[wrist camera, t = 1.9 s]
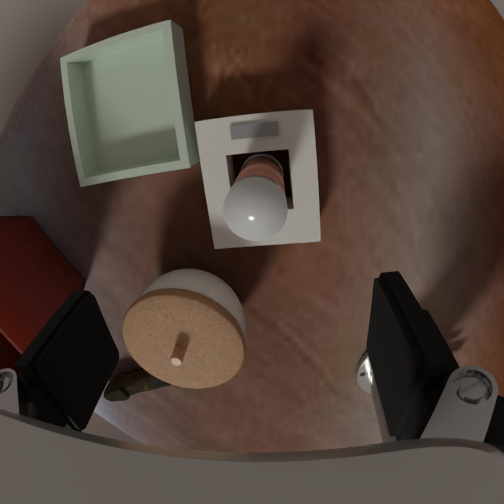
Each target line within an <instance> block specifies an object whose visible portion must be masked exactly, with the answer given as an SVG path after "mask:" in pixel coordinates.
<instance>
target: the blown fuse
mask: <svg viewBox="0 0 504 504" xmlns="http://www.w3.org/2000/svg"><path fill="white" fill-rule="evenodd" d="M287 213H288V208H287V200H286V196H285V189H284V180H283V168H282V165H281V163H280V162H279V160H278V159H277V158H276V157H274V156H273V155H271V154H268V153H256V154H254V155H252V156H250V157H249V158H248V159H247V160H246V161H245V162H244V164H243V166H242V168H241V171H240V173H239V175H238V177H237V178H236V180H235V182H234V184H233V186H232V187H231V189H230V190H229V192H228V194H227V196H226V198H225V201H224V205H223V215H224V219H225V221H226V223H227V225H228V227H229V228H230V229H231V230H232V231H233V232H234V233H235V234H236V235H238V236H239V237H241V238H244V239H246V240H251V241H260V240H265V239H268V238H271V237H272V236H274V235H275V234H277V233H278V232H279V231H280V230H281V229H282V227H283V226H284V224H285V222H286V219H287Z"/></svg>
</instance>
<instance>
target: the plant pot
mask: <svg viewBox="0 0 504 504" xmlns="http://www.w3.org/2000/svg"><path fill="white" fill-rule="evenodd" d="M84 288H85V282H84V280H83V279H82V278H81V276H80V275H79V274H78V273H77V272H76V271H75V270H74V268H73V267H72V266H71V265H70V264H69V263H68V261H67V260H66V259H65V258H64V257H63V255H62V254H61V253H60V252H59V251H58V249H57V248H56V247H55V246H54V245H53V243H52V242H51V241H50V240H49V238H48V237H47V236H46V235H45V233H44V232H43V231H42V229H41V228H40V227H39V226H38V224H37V223H36V222H35V220H34V219H33V218H32V217H30V216H1V217H0V370H2V369H5V368H10V369H13V370H14V371H15V372H16V373H17V375H19V373H20V371H19V370H18V368H17V367H16V365H15V363H16V361H17V360H18V359H19V357H20V356H21V355H22V353H23V352H24V351H25V349H26V348H27V347H28V346H29V344H30V343H31V342H32V340H33V339H34V338H35V337H36V335H37V334H38V333H39V332H40V330H41V329H42V328H43V327H44V325H45V324H46V323H47V322H48V321H49V319H50V318H51V317H52V316H53V315H54V313H55V312H56V311H57V310H58V309H59V307H60V306H61V305H62V304H63V303H64V302H65V300H66V299H67V298H68V297H69V296H70V295H71V293H72V292H74V291H84Z"/></svg>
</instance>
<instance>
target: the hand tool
mask: <svg viewBox="0 0 504 504" xmlns="http://www.w3.org/2000/svg"><path fill="white" fill-rule="evenodd" d="M170 385H173V384H169V383H167V382H165V381H162V380H160V379H158V378H156V377H155V376H153V375H151V374H150V373H149V372H147V371H146V370H145V369H142V370H139V371H136V372H132V373H128V372H123V373H121V374H119V375H118V376H116V377H115V378H113V379H112V380H111V381H110V382H109V383H108V385H107V387H106V389H105V391H104V397H105V399H107V400H109V401H123V400H127V399H129V397H130V395H133V394H136V393H139V392H144V391H149V390H153V389H157V388H161V387H165V386H170Z"/></svg>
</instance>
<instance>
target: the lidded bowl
mask: <svg viewBox="0 0 504 504" xmlns="http://www.w3.org/2000/svg"><path fill="white" fill-rule="evenodd" d="M122 333H123V339H124V342H125V345H126V347H127V349H128V351H129V353H130V354H131V356H132V357H133V358H134V360H135V361H136V362H137V363H138V364H139V365H140V366H141V367H142V368H143V369H145V370H146V371H147V372H149V373H150V374H151V375H153V376H155V377H156V378H158V379H160V380H162V381H165V382H167V383H169V384H173V385H176V386H180V387H185V388H209V387H214V386H218V385H220V384H222V383H224V382H226V381H228V380H230V379H231V378H232V377H233V376H235V375H236V374H237V373H238V371H239V370H240V368H241V367H242V364H243V362H244V357H245V350H246V346H245V339H246V325H245V317H244V313H243V308H242V305H241V303H240V301H239V299H238V297H237V295H236V294H235V292H234V291H233V290H232V289H231V287H230V286H229V285H228V284H227V283H225V282H224V281H223V280H222V279H220V278H219V277H217V276H215V275H213V274H211V273H209V272H206V271H203V270H198V269H186V268H185V269H177V270H174V271H170V272H168V273H165V274H163V275H161V276H160V277H158V278H157V279H155V280H154V281H153V282H151V283H150V284H149V285H148V286H147V287H146V288H145V289H144V290H143V291H142V293H141V294H140V295H139V297H138V298H137V299H136V301H135V302H134V303H133V304H132V305H131V306H130V308H129V309H128V311H127V313H126V315H125V317H124V320H123V325H122Z"/></svg>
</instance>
